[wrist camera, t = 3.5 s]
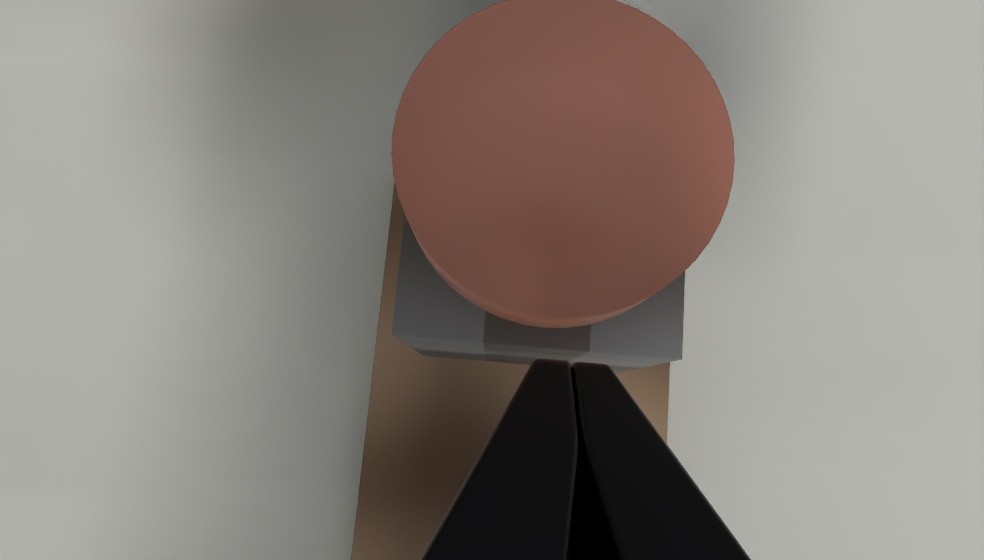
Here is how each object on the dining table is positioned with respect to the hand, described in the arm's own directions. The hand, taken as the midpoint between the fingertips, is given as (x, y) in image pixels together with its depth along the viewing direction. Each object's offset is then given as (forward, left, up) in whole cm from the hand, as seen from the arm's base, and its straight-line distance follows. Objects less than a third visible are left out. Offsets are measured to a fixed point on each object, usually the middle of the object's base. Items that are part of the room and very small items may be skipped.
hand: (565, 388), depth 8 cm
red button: (+3, -2, -8) cm, 9 cm away
